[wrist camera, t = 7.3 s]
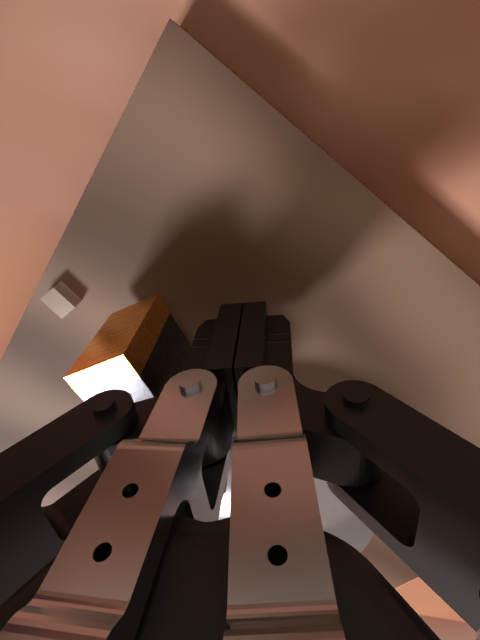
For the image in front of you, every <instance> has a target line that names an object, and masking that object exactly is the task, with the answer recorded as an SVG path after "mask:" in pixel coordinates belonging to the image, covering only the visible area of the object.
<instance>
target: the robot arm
mask: <svg viewBox="0 0 480 640" xmlns="http://www.w3.org/2000/svg"><path fill="white" fill-rule="evenodd" d="M191 346H192V348H190V351H189V354H188V357H187V360H186V363H185V366H184V369H183V372H180V373H178V374H176V375H174V376H173V377H172V378H170V379H169V380H168V382H167V383H166V384H165V386H164V388H163V390H162V392H161V394H160V395H158V396H156V397H152V398H149V399H145V400H141V401H138V402H134V401H133V398H132V396H131V394H129V393H128V392H127V391H124V390H119V389H113V390H107V391H103V392H100V393H98V394H96V395H94V396H92V397H90V398H89V399H87V400H86V401H84V402H82V403H81V404H79V405H77V406H76V407H74V408H73V409H71V410H69V411H68V412H66V413H64V414H63V415H61V416H59V417H58V418H56V419H55V420H53V421H51V422H50V423H48V424H46V425H45V426H43V427H42V428H40V429H38V430H37V431H35V432H33V433H32V434H30V435H29V436H27V437H25V438H24V439H22V440H20V441H19V442H17V443H16V444H14V445H12V446H11V447H9V448H7V449H6V450H4V451H3V452H1V453H0V640H440V639H439V638H438V637H437V635H436V634H435V633H434V632H433V631H432V630H431V629H430V627H429V626H428V625H427V624H426V623H425V622H424V621H423V620H422V619H421V618H420V616H419V615H418V614H417V613H416V612H415V611H414V610H413V609H412V607H411V606H410V605H409V604H408V603H407V602H406V601H405V600H404V599H403V597H402V596H401V595H400V594H399V593H398V592H397V591H396V590H395V589H394V587H393V586H392V585H391V584H390V583H389V582H388V581H387V580H386V579H385V577H384V576H383V575H382V574H381V573H380V572H379V571H378V570H377V569H376V567H375V566H374V565H373V564H372V563H371V562H370V561H369V560H368V559H367V558H366V557H365V556H363V555H362V554H361V553H360V552H359V551H358V550H357V549H355V548H354V547H352V546H351V545H350V544H348V543H347V542H345V541H344V540H342V539H340V538H338V537H336V536H334V535H333V534H330V533H328V532H325V531H323V526H322V521H321V516H320V510H319V505H318V499H317V494H316V489H315V483H314V478H317V479H320V480H324V481H326V482H327V485H328V487H329V489H330V491H331V492H332V493H333V494H334V495H335V496H336V497H337V498H338V499H339V500H340V501H341V502H342V503H343V504H344V505H345V506H346V507H347V508H348V509H349V510H350V511H351V512H353V513H354V514H355V515H356V516H357V517H358V518H359V519H360V520H361V521H362V522H363V523H364V524H365V525H366V526H367V527H368V528H369V529H370V530H371V531H372V532H373V533H374V534H375V535H376V536H377V537H378V538H379V539H381V540H382V541H383V542H384V543H385V544H386V545H387V546H388V547H389V548H390V549H391V550H392V551H393V552H394V553H395V554H396V555H397V556H398V557H399V558H400V559H401V560H402V561H403V562H404V563H405V564H406V565H407V566H409V567H410V568H411V569H412V570H413V571H414V572H415V573H416V574H417V575H418V576H419V577H420V578H421V579H422V580H423V581H424V582H425V583H426V584H427V585H428V586H429V587H430V588H431V589H432V590H433V591H434V592H435V593H437V594H438V595H439V596H440V597H441V598H442V599H443V600H444V601H445V602H446V603H447V604H448V605H449V606H450V607H451V608H452V609H453V610H454V611H455V612H456V613H457V614H458V615H459V616H460V617H461V618H462V619H463V620H465V621H466V622H467V623H468V624H469V625H470V626H471V627H472V628H473V629H474V630H475V631H476V632H477V636H476V640H480V448H479V447H477V446H475V445H474V444H472V443H470V442H469V441H467V440H465V439H464V438H462V437H460V436H459V435H457V434H455V433H454V432H452V431H450V430H449V429H447V428H445V427H444V426H442V425H440V424H439V423H437V422H435V421H434V420H432V419H430V418H429V417H427V416H425V415H424V414H422V413H420V412H419V411H417V410H415V409H414V408H412V407H410V406H409V405H407V404H405V403H404V402H402V401H400V400H399V399H397V398H395V397H394V396H392V395H390V394H389V393H387V392H385V391H384V390H382V389H380V388H379V387H377V386H375V385H373V384H371V383H368V382H365V381H359V380H346V381H341V382H338V383H336V384H334V385H332V386H331V387H330V388H329V389H328V390H327V392H321V391H317V390H313V389H310V388H307V387H305V386H303V385H302V384H301V383H299V382H298V381H297V380H296V378H295V376H294V373H293V357H292V342H291V327H290V322H289V321H288V319H287V318H286V317H285V316H284V315H270V316H268V308H267V302H266V301H258V302H245V303H244V304H243V303H231V304H221V306H220V309H219V313H218V317H217V319H211V320H206V321H205V322H204V323H203V324H201V325H200V326H199V327H198V328H197V331H196V334H195V337H194V340H193V343H192V345H191ZM234 434H237V440H233V446H232V456H231V450H230V447H231V441H232V435H234ZM231 457H232V474H231V504H230V517H228V518H224V519H220V520H218V519H219V514H220V509H221V504H222V500H223V495H224V491H225V486H226V481H227V477H228V472H229V468H230V463H231ZM93 458H94V459H95V461H96V464H97V466H98V468H99V469H98V470H97V471H96V472H94V473H93V474H92V475H90V476H89V477H88V478H86V479H85V480H84V481H82V482H81V483H80V484H78V485H77V486H76V487H74V488H73V489H72V490H70V491H69V492H68V493H66V494H65V495H64V496H62V497H61V498H60V499H58V500H57V501H55V502H54V503H53V504H51V505H48V506H44V507H41V503H42V500H43V498H44V496H45V495H46V494H47V492H48V491H49V490H51V489H52V488H53V487H55V486H56V485H57V484H59V483H60V482H61V481H63V480H64V479H66V478H67V477H68V476H70V475H71V474H72V473H74V472H75V471H77V470H78V469H79V468H81V467H82V466H84V465H85V464H86V463H88V462H89V461H90V460H92V459H93Z"/></svg>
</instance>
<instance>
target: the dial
mask: <svg viewBox="0 0 480 640" xmlns="http://www.w3.org/2000/svg"><path fill="white" fill-rule="evenodd" d="M190 348H192V346H191V344H190V343H189V341H188V340H187V338H186V337H185V335H184V333H183V332H182V330H181V329H180V327H179V326H178V324H177V322H176V321H175V319H174V318H173V316H172V315H171V313H170V311H169V310H168V308H167V307H166V305H165V303H164V302H163V300H162V299H161V297H160V296H159V294H156V295H154V296H152V297H149V298H147V299H145V300H142V301H140V302H138V303H135V304H133V305H131V306H128V307H126V308H124V309H121V310H119V311H117V312H114V313H112V314H111V315H110V316H109V317H108V319H107V320H106V321H105V323H104V324H103V325H102V327H101V328H100V329H99V331H98V332H97V333H96V335H95V336H94V338H93V339H92V340H91V342H90V343H89V344H88V346H87V347H86V348H85V350H84V351H83V352H82V354H81V355H80V356H79V358H78V359H77V360H76V362H75V363H74V364H73V366H72V367H71V368H70V370H69V371H68V372H67V374H66V375H65V377H64V379H65V380H66V381H67V382H68V383H69V385H70V386H71V387H72V388H73V389H74V390H75V392H76V393H77V394H78V395H79V396H80V397H81V398H82V400H83V401H86V400H87V399H89V398H90V397H92V396H94V395H96V394H98V393H100V392H103V391H107V390H113V389H119V390H124V391H127V392H128V393H129V394H131V396H132V398H133V401H134V402H138V401H141V400H145V399H149V398H152V397H156V396H158V395H160V394H161V392H162V390H163V388H164V386H165V384H166V383H167V382H168V380H169V379H170V378H172V377H173V376H174V375H176V374H178V373H180V372H183V369H184V366H185V363H186V360H187V357H188V354H189V351H190ZM233 440H237V434H234V435H232V441H231V447H230V450H231V456H232V446H233ZM231 474H232V457H231V463H230V468H229V472H228V477H227V481H226V486H225V491H224V495H223V500H222V504H221V509H220V514H219V519H218V520H220V519H224V518H228V517H230V504H231ZM314 483H315V489H316V494H317V499H318V505H319V510H320V516H321V521H322V526H323V531H325V532H328V533H330V534H333V535H334V536H336V537H338V538H340V539H342V540H344V541H345V542H347V543H348V544H350V545H351V546H352V547H354V548H355V549H357V550H358V551H359V552H360V553H361V552H362V551H363V550H364V549H365V547H366V546H367V545H368V544H369V542H370V540H371V539H372V537H373V535H374V533H373V532H372V531H371V530H370V529H369V528H368V527H367V526H366V525H365V524H364V523H363V522H362V521H361V520H360V519H359V518H358V517H357V516H356V515H355V514H354V513H353V512H351V511H350V510H349V509H348V508H347V507H346V506H345V505H344V504H343V503H342V502H341V501H340V500H339V499H338V498H337V497H336V496H335V495H334V494H333V493H332V492H331V491H330V489H329V487H328V485H327V482H326V481H324V480H320V479H317V478H314Z"/></svg>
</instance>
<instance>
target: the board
mask: <svg viewBox="0 0 480 640" xmlns="http://www.w3.org/2000/svg"><path fill="white" fill-rule="evenodd" d="M156 294H159V296H160V297H161V299H162V300H163V302H164V303H165V305H166V307H167V308H168V310H169V311H170V313H171V315H172V316H173V318H174V319H175V321H176V322H177V324H178V326H179V327H180V329H181V330H182V332H183V333H184V335H185V337H186V338H187V340H188V341H189V343H190V344H191V345H192V343H193V340H194V337H195V334H196V331H197V328H198V327H199V326H200V325H201V324H203V323H204V322H205V321H206V320H211V319H217V317H218V313H219V309H220V306H221V304H231V303H243V304H244V303H245V302H258V301H266V302H267V308H268V316H270V315H284V316H285V317H286V318H287V319H288V321H289V322H290V327H291V342H292V357H293V373H294V376H295V378H296V380H297V381H298V382H299V383H301V384H302V385H303V386H305V387H307V388H310V389H313V390H317V391H321V392H327V390H328V389H329V388H330V387H331V386H332V385H334V384H336V383H338V382H341V381H346V380H359V381H365V382H368V383H371V384H373V385H375V386H377V387H379V388H380V389H382V390H384V391H385V392H387V393H389V394H390V395H392V396H394V397H395V398H397V399H399V400H400V401H402V402H404V403H405V404H407V405H409V406H410V407H412V408H414V409H415V410H417V411H419V412H420V413H422V414H424V415H425V416H427V417H429V418H430V419H432V420H434V421H435V422H437V423H439V424H440V425H442V426H444V427H445V428H447V429H449V430H450V431H452V432H454V433H455V434H457V435H459V436H460V437H462V438H464V439H465V440H467V441H469V442H470V443H472V444H474V445H475V446H477V447H479V448H480V285H479V284H478V283H476V282H475V281H474V280H473V279H472V278H471V277H469V276H468V275H467V274H466V273H465V272H464V271H463V270H461V269H460V268H459V267H458V266H457V265H456V264H454V263H453V262H452V261H451V260H450V259H449V258H447V257H446V256H445V255H444V254H443V253H442V252H441V251H439V250H438V249H437V248H436V247H435V246H434V245H432V244H431V243H430V242H429V241H428V240H427V239H425V238H424V237H423V236H422V235H421V234H420V233H419V232H417V231H416V230H415V229H414V228H413V227H412V226H410V225H409V224H408V223H407V222H406V221H405V220H404V219H402V218H401V217H400V216H399V215H398V214H397V213H395V212H394V211H393V210H392V209H391V208H390V207H388V206H387V205H386V204H385V203H384V202H383V201H382V200H380V199H379V198H378V197H377V196H376V195H375V194H373V193H372V192H371V191H370V190H369V189H368V188H367V187H365V186H364V185H363V184H362V183H361V182H360V181H358V180H357V179H356V178H355V177H354V176H353V175H351V174H350V173H349V172H348V171H347V170H346V169H345V168H343V167H342V166H341V165H340V164H339V163H338V162H336V161H335V160H334V159H333V158H332V157H331V156H329V155H328V154H327V153H326V152H325V151H324V150H323V149H321V148H320V147H319V146H318V145H317V144H316V143H314V142H313V141H312V140H311V139H310V138H309V137H308V136H306V135H305V134H304V133H303V132H302V131H301V130H299V129H298V128H297V127H296V126H295V125H294V124H292V123H291V122H290V121H289V120H288V119H287V118H286V117H284V116H283V115H282V114H281V113H280V112H279V111H277V110H276V109H275V108H274V107H273V106H272V105H271V104H269V103H268V102H267V101H266V100H265V99H264V98H262V97H261V96H260V95H259V94H258V93H257V92H255V91H254V90H253V89H252V88H251V87H250V86H249V85H247V84H246V83H245V82H244V81H243V80H242V79H240V78H239V77H238V76H237V75H236V74H235V73H234V72H232V71H231V70H230V69H229V68H228V67H227V66H225V65H224V64H223V63H222V62H221V61H220V60H218V59H217V58H216V57H215V56H214V55H213V54H212V53H210V52H209V51H208V50H207V49H206V48H205V47H203V46H202V45H201V44H200V43H199V42H198V41H196V40H195V39H194V38H193V37H192V36H191V35H190V34H188V33H187V32H186V31H185V30H184V29H183V28H181V27H180V26H179V25H178V24H177V23H175V22H174V21H173V20H171V19H169V21H168V23H167V25H166V27H165V29H164V31H163V33H162V35H161V37H160V39H159V41H158V43H157V45H156V47H155V49H154V51H153V54H152V56H151V58H150V60H149V62H148V64H147V66H146V68H145V70H144V72H143V74H142V76H141V78H140V80H139V82H138V84H137V86H136V88H135V90H134V92H133V94H132V96H131V98H130V100H129V102H128V104H127V106H126V108H125V110H124V112H123V114H122V116H121V118H120V120H119V122H118V124H117V126H116V128H115V130H114V132H113V134H112V136H111V138H110V140H109V142H108V145H107V147H106V149H105V151H104V153H103V155H102V157H101V159H100V161H99V163H98V165H97V167H96V169H95V171H94V173H93V175H92V177H91V179H90V181H89V183H88V185H87V187H86V189H85V191H84V193H83V195H82V197H81V199H80V201H79V203H78V205H77V207H76V209H75V211H74V213H73V215H72V217H71V219H70V221H69V223H68V225H67V227H66V229H65V231H64V234H63V236H62V238H61V240H60V242H59V244H58V246H57V248H56V250H55V252H54V254H53V256H52V258H51V260H50V262H49V264H48V266H47V268H46V270H45V272H44V274H43V276H42V278H41V280H40V282H39V284H38V286H37V288H36V290H35V292H34V294H33V296H32V298H31V300H30V302H29V304H28V306H27V308H26V310H25V312H24V314H23V316H22V318H21V320H20V323H19V325H18V327H17V329H16V331H15V333H14V335H13V337H12V339H11V341H10V343H9V345H8V347H7V349H6V351H5V353H4V355H3V357H2V359H1V361H0V453H1V452H3V451H4V450H6V449H7V448H9V447H11V446H12V445H14V444H16V443H17V442H19V441H20V440H22V439H24V438H25V437H27V436H29V435H30V434H32V433H33V432H35V431H37V430H38V429H40V428H42V427H43V426H45V425H46V424H48V423H50V422H51V421H53V420H55V419H56V418H58V417H59V416H61V415H63V414H64V413H66V412H68V411H69V410H71V409H73V408H74V407H76V406H77V405H79V404H81V403H82V402H84V401H83V400H82V398H81V397H80V396H79V395H78V394H77V393H76V392H75V390H74V389H73V388H72V387H71V386H70V385H69V383H68V382H67V381H66V380H65V379H64V377H65V375H66V374H67V372H68V371H69V370H70V368H71V367H72V366H73V364H74V363H75V362H76V360H77V359H78V358H79V356H80V355H81V354H82V352H83V351H84V350H85V348H86V347H87V346H88V344H89V343H90V342H91V340H92V339H93V338H94V336H95V335H96V333H97V332H98V331H99V329H100V328H101V327H102V325H103V324H104V323H105V321H106V320H107V319H108V317H109V316H110V315H111V314H112V313H114V312H117V311H119V310H121V309H124V308H126V307H128V306H131V305H133V304H135V303H138V302H140V301H142V300H145V299H147V298H149V297H152V296H154V295H156ZM98 469H99V468H98V466H97V464H96V461H95V459H94V458H93V459H92V460H90V461H89V462H88V463H86V464H85V465H84V466H82V467H81V468H79V469H78V470H77V471H75V472H74V473H72V474H71V475H70V476H68V477H67V478H66V479H64V480H63V481H61V482H60V483H59V484H57V485H56V486H55V487H53V488H52V489H51V490H49V491H48V492H47V494H46V495H45V496H44V498H43V500H42V503H41V507H44V506H48V505H51V504H53V503H54V502H55V501H57V500H58V499H60V498H61V497H62V496H64V495H65V494H66V493H68V492H69V491H70V490H72V489H73V488H74V487H76V486H77V485H78V484H80V483H81V482H82V481H84V480H85V479H86V478H88V477H89V476H90V475H92V474H93V473H94V472H96V471H97V470H98ZM361 554H362V555H363V556H365V557H366V558H367V559H368V560H369V561H370V562H371V563H372V564H373V565H374V566H375V567H376V569H377V570H378V571H379V572H380V573H381V574H382V575H383V576H384V577H385V579H386V580H387V581H388V582H389V583H390V584H391V585H392V586H393V587H394V588H395V587H398V586H400V585H402V584H404V583H406V582H408V581H410V580H412V579H414V578H416V577H419V576H418V575H417V574H416V573H415V572H414V571H413V570H412V569H411V568H410V567H409V566H407V565H406V564H405V563H404V562H403V561H402V560H401V559H400V558H399V557H398V556H397V555H396V554H395V553H394V552H393V551H392V550H391V549H390V548H389V547H388V546H387V545H386V544H385V543H384V542H383V541H382V540H381V539H379V538H378V537H377V536H376V535H375V534H374V535H373V537H372V539H371V540H370V542H369V544H368V545H367V546H366V547H365V549H364V550H363V551H362V552H361Z"/></svg>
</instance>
